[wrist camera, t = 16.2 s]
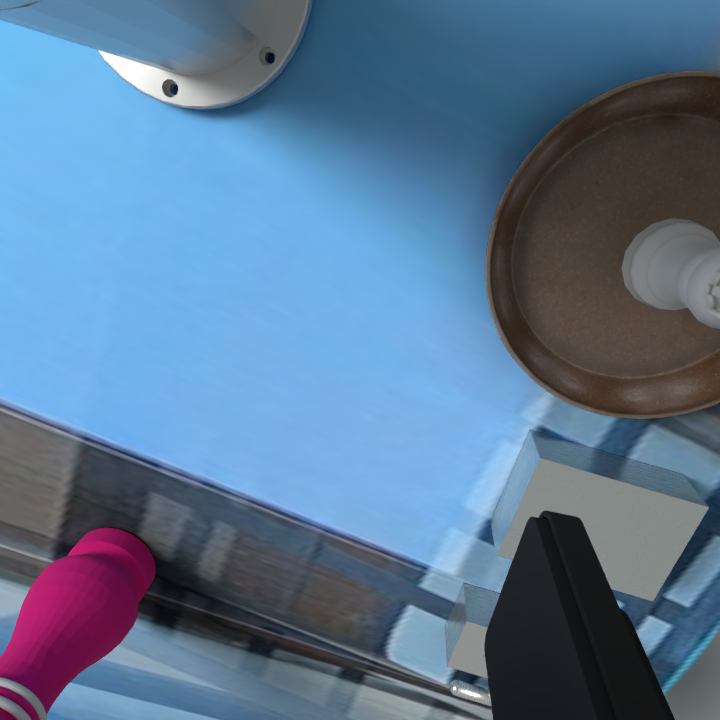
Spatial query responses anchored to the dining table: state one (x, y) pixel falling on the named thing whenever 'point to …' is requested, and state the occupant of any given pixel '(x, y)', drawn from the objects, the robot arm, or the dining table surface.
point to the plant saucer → (609, 249)
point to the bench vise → (602, 523)
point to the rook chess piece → (676, 269)
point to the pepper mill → (73, 619)
